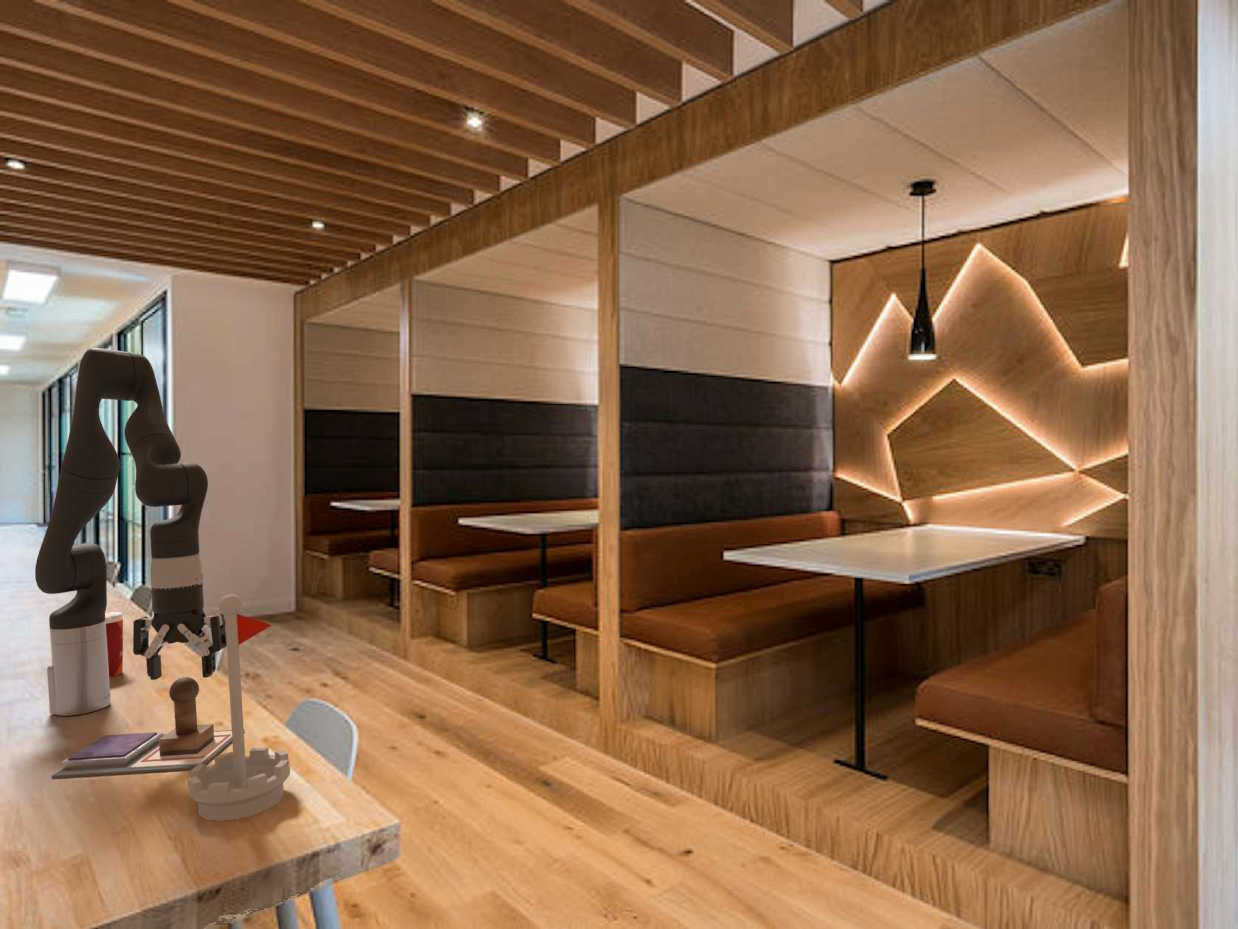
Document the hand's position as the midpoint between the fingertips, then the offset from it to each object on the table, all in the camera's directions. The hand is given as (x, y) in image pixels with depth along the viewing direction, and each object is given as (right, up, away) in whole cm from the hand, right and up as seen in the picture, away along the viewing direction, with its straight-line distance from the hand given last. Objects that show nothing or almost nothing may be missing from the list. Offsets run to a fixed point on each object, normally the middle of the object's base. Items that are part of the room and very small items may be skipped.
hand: (182, 677), depth 130 cm
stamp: (+1, -12, 0) cm, 12 cm away
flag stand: (+20, -13, -20) cm, 31 cm away
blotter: (-5, -13, 0) cm, 14 cm away
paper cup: (-46, -13, +50) cm, 69 cm away
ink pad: (-11, -13, 0) cm, 17 cm away
